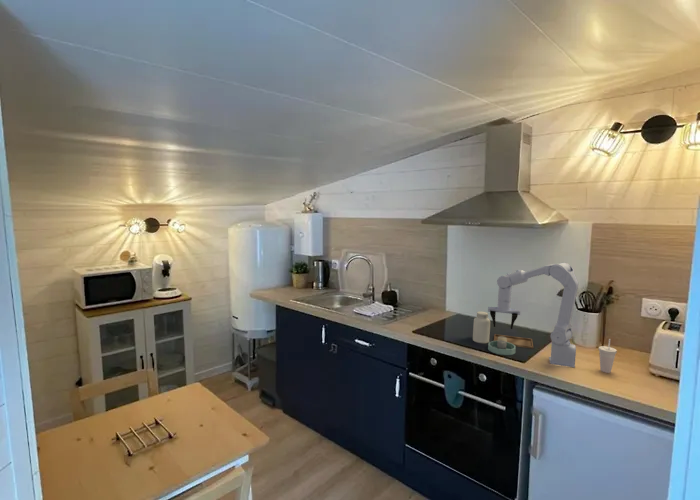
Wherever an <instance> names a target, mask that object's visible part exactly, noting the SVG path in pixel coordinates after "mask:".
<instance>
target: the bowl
mask: <svg viewBox="0 0 700 500" xmlns="http://www.w3.org/2000/svg"><path fill="white" fill-rule="evenodd" d="M516 349H517V348H516V346H515V345H513V344H512V343H509V342H507V345H506V349H498V348H497V341H494V340H492V341H489V342H488V345H487V350H488V351H489V352H491V353H493V354H495V355H502V356H512V355H514V354H516Z"/></svg>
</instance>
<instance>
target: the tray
mask: <svg viewBox="0 0 700 500" xmlns="http://www.w3.org/2000/svg"><path fill="white" fill-rule="evenodd" d="M499 336H502V337H506V338H507V342H509V343H512V344H513V345H515V346H516V347H517V348H525V349H526V348H527V349H534V343H533V338H528V337H522V336H521V337H520V336H512V335H503V334H496V333H494V335H493V341H498V337H499Z"/></svg>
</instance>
